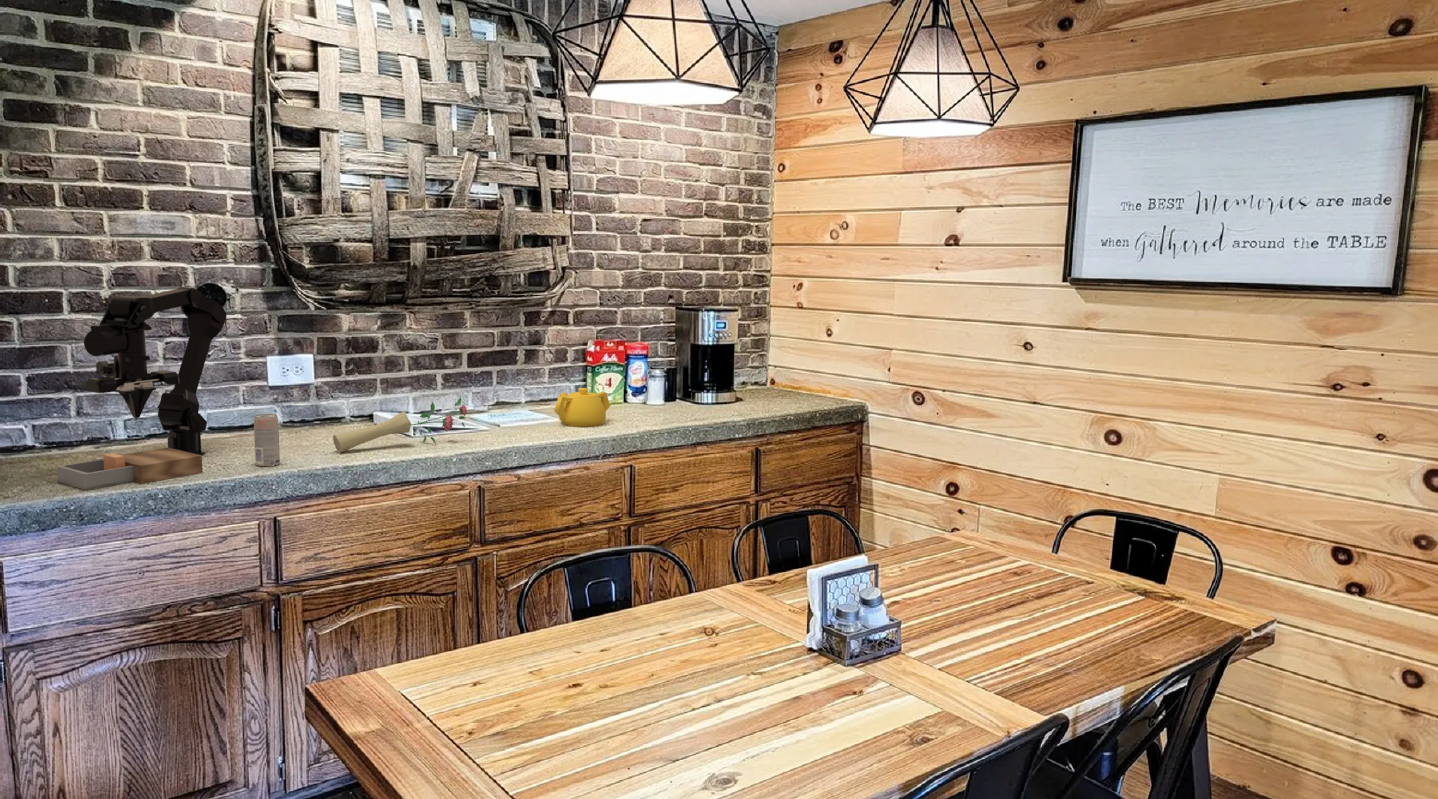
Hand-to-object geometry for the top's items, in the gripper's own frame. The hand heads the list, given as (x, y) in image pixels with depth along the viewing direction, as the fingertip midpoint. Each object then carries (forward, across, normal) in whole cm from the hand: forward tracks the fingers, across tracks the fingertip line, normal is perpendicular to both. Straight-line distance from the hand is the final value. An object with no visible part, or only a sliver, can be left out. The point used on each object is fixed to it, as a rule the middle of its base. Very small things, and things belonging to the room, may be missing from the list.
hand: (136, 417), depth 234 cm
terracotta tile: (+9, +9, +8) cm, 14 cm away
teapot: (+13, -112, +42) cm, 120 cm away
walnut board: (+12, +1, +8) cm, 14 cm away
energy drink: (+12, -20, +20) cm, 30 cm away
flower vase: (+13, -54, +28) cm, 62 cm away
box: (+12, +13, +6) cm, 18 cm away
